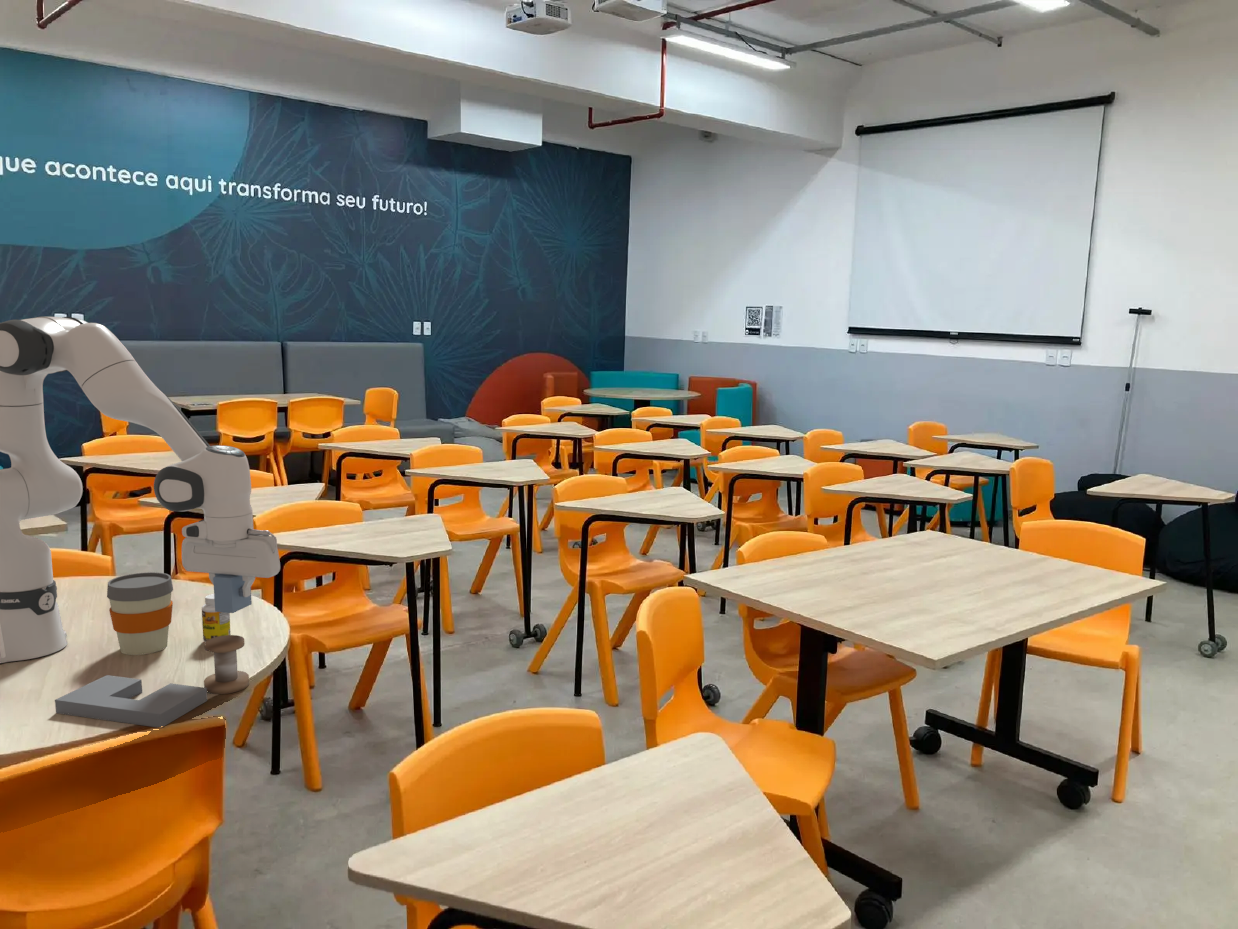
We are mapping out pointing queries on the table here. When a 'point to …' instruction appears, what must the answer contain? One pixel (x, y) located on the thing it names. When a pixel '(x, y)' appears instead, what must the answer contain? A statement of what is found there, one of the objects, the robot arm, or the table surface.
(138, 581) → the reusable coffee cup
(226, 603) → the blue-gray rectangular block
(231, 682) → the bobbin post
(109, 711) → the notched board
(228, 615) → the supplement bottle
